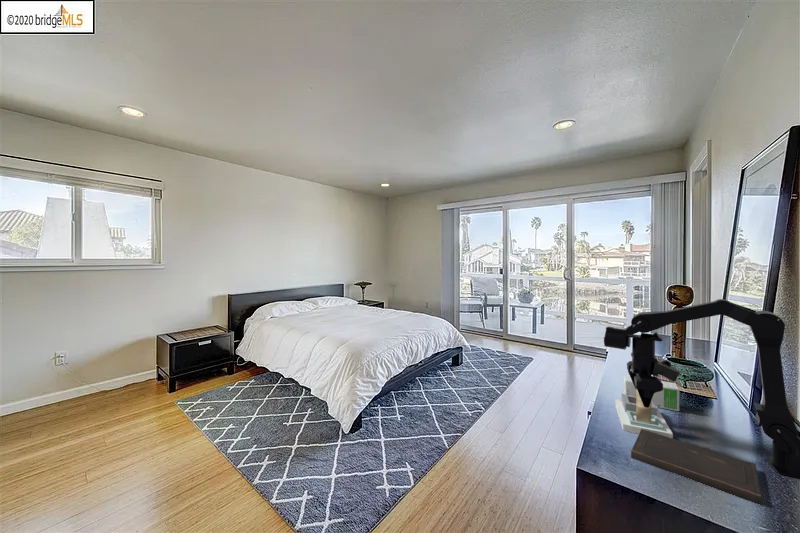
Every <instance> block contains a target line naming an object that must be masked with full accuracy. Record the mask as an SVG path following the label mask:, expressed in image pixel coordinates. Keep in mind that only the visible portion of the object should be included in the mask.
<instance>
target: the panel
mask: <svg viewBox="0 0 800 533" xmlns="http://www.w3.org/2000/svg"><path fill="white" fill-rule="evenodd" d="M614 406H615V410H616V412H617V415H618V419H619V422H620V425H621V428H622V431H623V432H629V433H633V434H637V435H639V433H640V431H641V429H643V430H646V431H650V432H653V433H656V434H659V435H663V436H666V437H669V438H672V439H674V434H673V431H672V430H671V429H670V427H669V425H668V424H667V422H666V420H665V418H664V417H663V415H662V413H661V411H660V410H659V407H656V406H655V405H654V403H653V401H652V403H651V424H648V423H643V422H638V421H637V420H636V396H631V395H625V394H624V393H621V399H618V398H616V399H614Z"/></svg>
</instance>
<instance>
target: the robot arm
mask: <svg viewBox="0 0 800 533" xmlns="http://www.w3.org/2000/svg"><path fill="white" fill-rule="evenodd" d="M716 316H725V317H728V318H729V319H732V320H735V321H737V322H739V323H741V324H743V325H747V326H749V327H750V328H749V329H750V330H751V333H752V336H753V339H754V341H755V343H756V347H757V354H758V363H759V371H760V378H761V379H760V380H761V386H762V387H761V390H762V397H763V398H762V402H761V403H758V402H754V403H753V404H754V407H755V410H756V414H755V419H756V423H757V426H758V427H761V429H762V431H763V432H764V434H765V435H766V436H767V437H768V438H770V439H771V440H772V442H771V443H772V446H771V447H772V448H771V450H772V451H771V455H772V456H771V458H770V457H764V458H765V459H764V460H765V461H766V463H768V464H769V465H770V466H771V467H772V468H773V469H774V471H776V472H777V474H779V475H783V476H789V477H791V478H792V477H793V478H798V479H800V430H798V428H797V426H796V424H795V421H794V419H793V416H792V414H791V412H790V409H789V407H788V404H787V403H788V402H787V395H786V388H785V387H786V386H785V377H784V371H783V362H782V354H781V348H782V345H783V341H784V337H785V330H786V325H785V322H784V320H783V319H782V318H781V317H779V315H777V314H775V313H774V312H771V311H768V310H754V309H751V308H749V307H746V306H744V305H739V304H737V303H734V302H731V301H730V300H727V299H723V298H719V299H716V300H713V301H709V302H704V303H699V304H694V305H690V306H689V305H688V306H683V307H680V308H675V309H669V310H664V311H663V310H662V311H661V310H660V311H658V310H657V311H642V312H639V313H637V314H636V315H634V316H633V317H632V318H631V323H630V325H628V326H627V327H626V328H618V327H614V326H606V327H605V334H604V337H603V345H604V347H607V348H611V349H612V348H614V349H618V350H624V351H625V350H626V349H627V348H630V347H631V348H632V349H631V352H630V356H631V360H630V361H628V362H626V370H627V372H628V376H630V377H631V380H632V382H633V384H634V387H635V389H637V391H638V393H639V396H640V398H641V401H642V403H643V405H644V407H646V408H649V405H650V403H651V400H652V397H653V395H654V393H656V392H660V391H663V383H662V382H661V381H662V380H660V379H659V375H660V376H662V377H664V378H667V379H669V380H670V381H672V382H676V381H677V379H678V377H679V376H680V373H681V372H680V370H678V369H677V368H676V367H674V366H672V362H670V361H669V360H667V359H663V360H661V361H659V359H657V357H656V342H660V343H661V342H663V340H664V337H663V336H662V335H660V334H659V333H658V332H657V331H655V330H659V329H661V328H664V327H666V326H669V325H672V324H677V323H682V322H689V321H695V320H699V319H704V318H709V317H716ZM653 331H655V332H654V333H650V332H653ZM638 333H640V334H638ZM631 338H632V339H631ZM631 344H632V345H631Z"/></svg>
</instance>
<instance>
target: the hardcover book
mask: <svg viewBox="0 0 800 533" xmlns="http://www.w3.org/2000/svg"><path fill="white" fill-rule="evenodd" d="M630 458H631V459H632V460H633V459H634V460H636V461H639V462H641V463H644V464H647V465H650V466H652V467H654V468H656V469H657V468H658V469H659V470H660V469H661V470H663V471H666V472H668V471H669V473H671V472H673V473H672V474H674V473H676V474H675V475H677V474H678V475H677V476H679V475H681V476H680V477H682V476H684V477H683V478H685V477H686V478H685V479H688V478H689V479H688V480H690V479H692V480H691V481H693V480H694V481H693V482H696V483H698V482H700V483H699V484H701V483H702V485H704V484H705V485H704V486H707V485H708V486H707V487H709V486H710V488H712V487H713V488H712V489H715V488H716V489H715V490H718V491H720V490H721V491H720V492H723V491H724V492H723V493H726V494H728V493H729V495H731V494H732V496H734V495H735V496H734V497H737V498H740V499H743V500H745V501H748V502H750V501H751V503H753V502H754V504H756V503H757V504H756V505H759V504H760V505H759V506H762V494H761V487H760V480H759V475H758V470H757V464H756V463H753V462H751V461H747V460H743V459H741V458H738V457H734V456H732V455H731V456H730V455H728V454H724V453H721V452H717V451H715V450H712V449H711V450H710V449H709V448H705V447H702V446H698V445H694V444H691V443H688V442H684V441H682V440H679V439H675V438H673V439H672V438H669V437H666V436H663V435H659V434H656V433H653V432H650V431H646V430H643V429H641V431H640V433H639V434H637V438H636V440H635V442H634V444H633V447H632V449H631V451H630Z"/></svg>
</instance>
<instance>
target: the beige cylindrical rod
mask: <svg viewBox="0 0 800 533" xmlns="http://www.w3.org/2000/svg"><path fill="white" fill-rule="evenodd" d="M651 403H652V400H651ZM651 403H650V405H649V408H646V407H644V405H643V403H642V401H641V398H640V396H639V393H638V391H637V389H636V420H637V421H638V422H643V423H648V424H651Z"/></svg>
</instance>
